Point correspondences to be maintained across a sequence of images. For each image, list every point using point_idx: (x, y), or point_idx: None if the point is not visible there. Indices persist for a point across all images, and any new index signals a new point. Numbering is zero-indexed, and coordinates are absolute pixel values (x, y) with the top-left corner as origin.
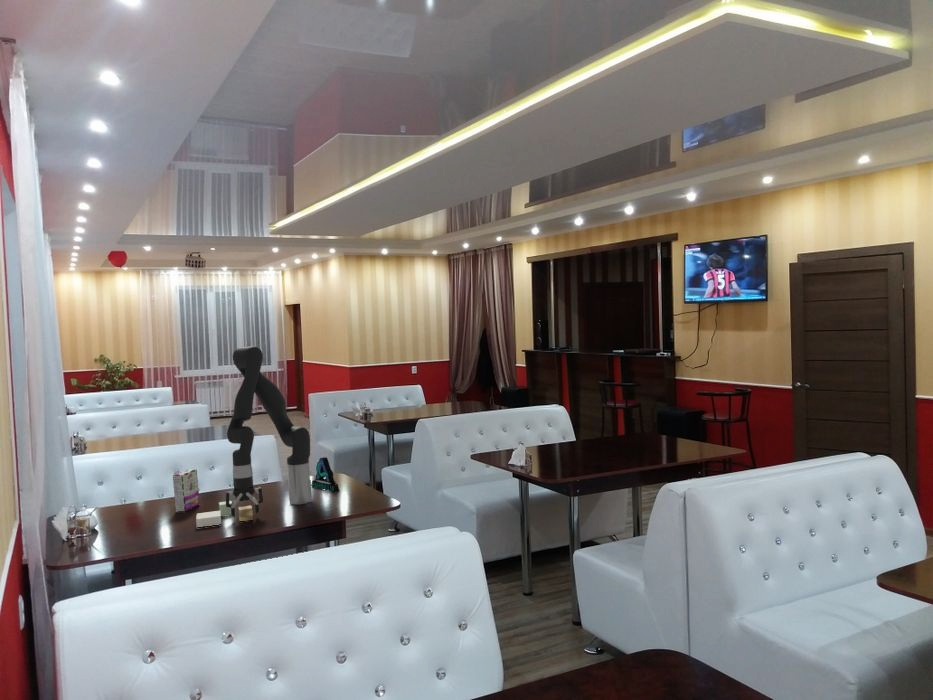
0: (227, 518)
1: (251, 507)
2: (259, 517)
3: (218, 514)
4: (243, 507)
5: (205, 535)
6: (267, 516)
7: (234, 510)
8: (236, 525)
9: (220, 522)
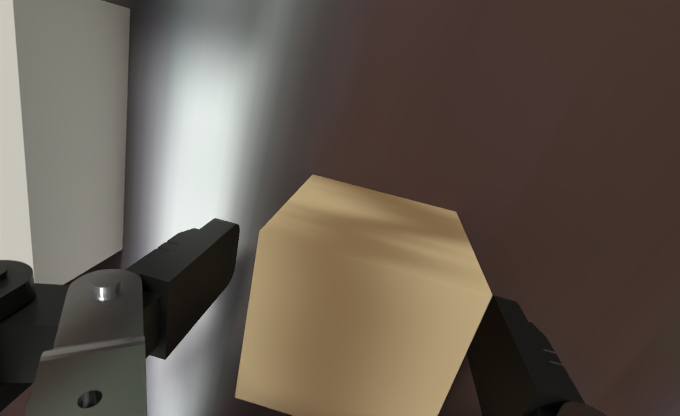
0: (203, 26)
1: (430, 412)
2: (515, 283)
3: (6, 212)
4: (328, 313)
5: (22, 400)
6: (603, 314)
7: (180, 333)
8: (240, 356)
9: (97, 260)
